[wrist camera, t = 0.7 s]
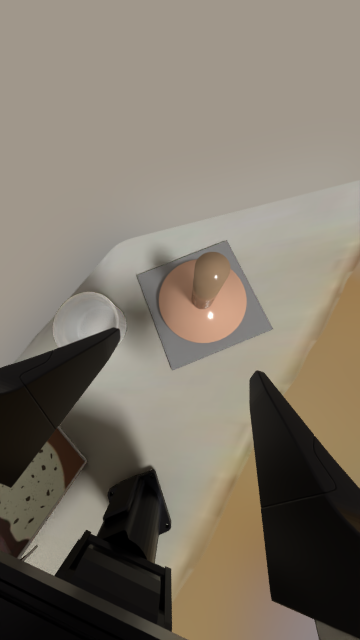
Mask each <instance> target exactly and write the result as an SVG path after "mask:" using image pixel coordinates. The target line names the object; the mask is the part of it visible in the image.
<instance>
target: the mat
mask: <svg viewBox="0 0 360 640" xmlns="http://www.w3.org/2000/svg"><path fill="white" fill-rule="evenodd" d="M207 252H218V253H220V254H222V255H224V256H225V257H226V258H227V259H228V261H229V263H230V269H231V270H233V271H234V272H235V273H236V275H237V276H238V277H239V278H240V280H241V282H242V284H243V286H244V288H245V292H246V298H247V305H246V311H245V314H244V317H243V319H242V321H241V323H240V324H239V326H238V327H237V328H236V329H235V330H234V331H233V332H232V333H231V334H230V335H228V336H227V337H225V338H223V339H221V340H218V341H215V342H210V343H195V342H191V341H188V340H185V339H183V338H181V337H179V336H178V335H177V334H175V333H174V332H173V331H172V330H171V329H170V328H169V327H168V326H167V324H166V323H165V321H164V319H163V317H162V315H161V312H160V307H159V293H160V289H161V286H162V284H163V282H164V280H165V278H166V277H167V276H168V274H169V273H170V272H171V271H172V270H173V269H175V268H176V267H177V266H179V265H181V264H183V263H185V262H188V261H191V260H196V259H198V258H199V257H200V256H201V255H202V254H204V253H207ZM137 277H138V280H139V282H140V285H141V288H142V290H143V293H144V296H145V298H146V301H147V304H148V306H149V309H150V312H151V315H152V317H153V320H154V323H155V325H156V328H157V331H158V333H159V336H160V339H161V341H162V344H163V347H164V349H165V352H166V355H167V357H168V360H169V363H170V365H171V368H172V370H175V369H177V368H180V367H182V366H184V365H187V364H189V363H192V362H194V361H197V360H199V359H201V358H204V357H206V356H209V355H211V354H214V353H216V352H219V351H221V350H223V349H226V348H228V347H231V346H233V345H236V344H238V343H240V342H243V341H245V340H248V339H250V338H253V337H255V336H257V335H260V334H262V333H265V332H267V331H270V330H272V329H273V328H272V326H271V324H270V322H269V320H268V318H267V316H266V314H265V312H264V311H263V309H262V307H261V305H260V303H259V301H258V299H257V297H256V295H255V293H254V291H253V289H252V288H251V286H250V284H249V282H248V280H247V278H246V276H245V274H244V272H243V270H242V268H241V266H240V265H239V263H238V261H237V259H236V257H235V255H234V253H233V251H232V249H231V247H230V245H229V243H228V242H227V240H226V241H224V242H221V243H219V244H216V245H214V246H211V247H208V248H206V249H203V250H201V251H198V252H196V253H193V254H191V255H188V256H185V257H183V258H180V259H178V260H175V261H173V262H170V263H167V264H165V265H162V266H160V267H157V268H155V269H152V270H149V271H147V272H144V273H142V274H139V275H137Z"/></svg>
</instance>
